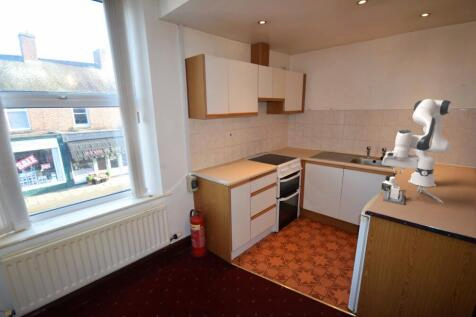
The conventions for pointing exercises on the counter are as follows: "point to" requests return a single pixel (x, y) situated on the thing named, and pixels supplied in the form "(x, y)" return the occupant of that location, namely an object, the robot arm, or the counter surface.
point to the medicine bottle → (388, 183)
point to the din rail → (399, 198)
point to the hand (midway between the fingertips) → (397, 173)
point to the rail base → (393, 198)
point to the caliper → (428, 193)
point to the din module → (394, 192)
